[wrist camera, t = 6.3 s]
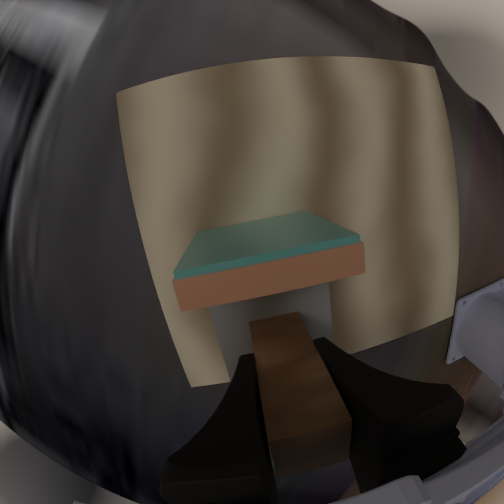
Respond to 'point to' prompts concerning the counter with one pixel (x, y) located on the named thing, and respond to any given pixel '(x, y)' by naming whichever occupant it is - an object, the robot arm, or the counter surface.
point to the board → (300, 183)
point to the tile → (265, 259)
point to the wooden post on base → (289, 374)
